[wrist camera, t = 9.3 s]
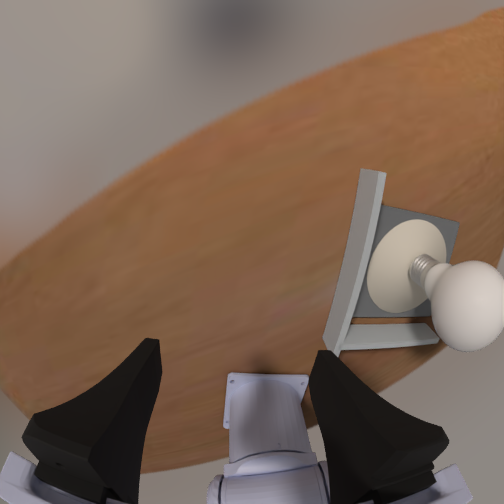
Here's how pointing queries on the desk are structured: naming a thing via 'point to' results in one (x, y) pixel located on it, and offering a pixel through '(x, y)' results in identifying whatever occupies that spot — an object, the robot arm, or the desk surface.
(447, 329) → the lightbulb
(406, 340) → the acrylic fence
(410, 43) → the desk surface
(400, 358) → the desk surface
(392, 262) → the mat
